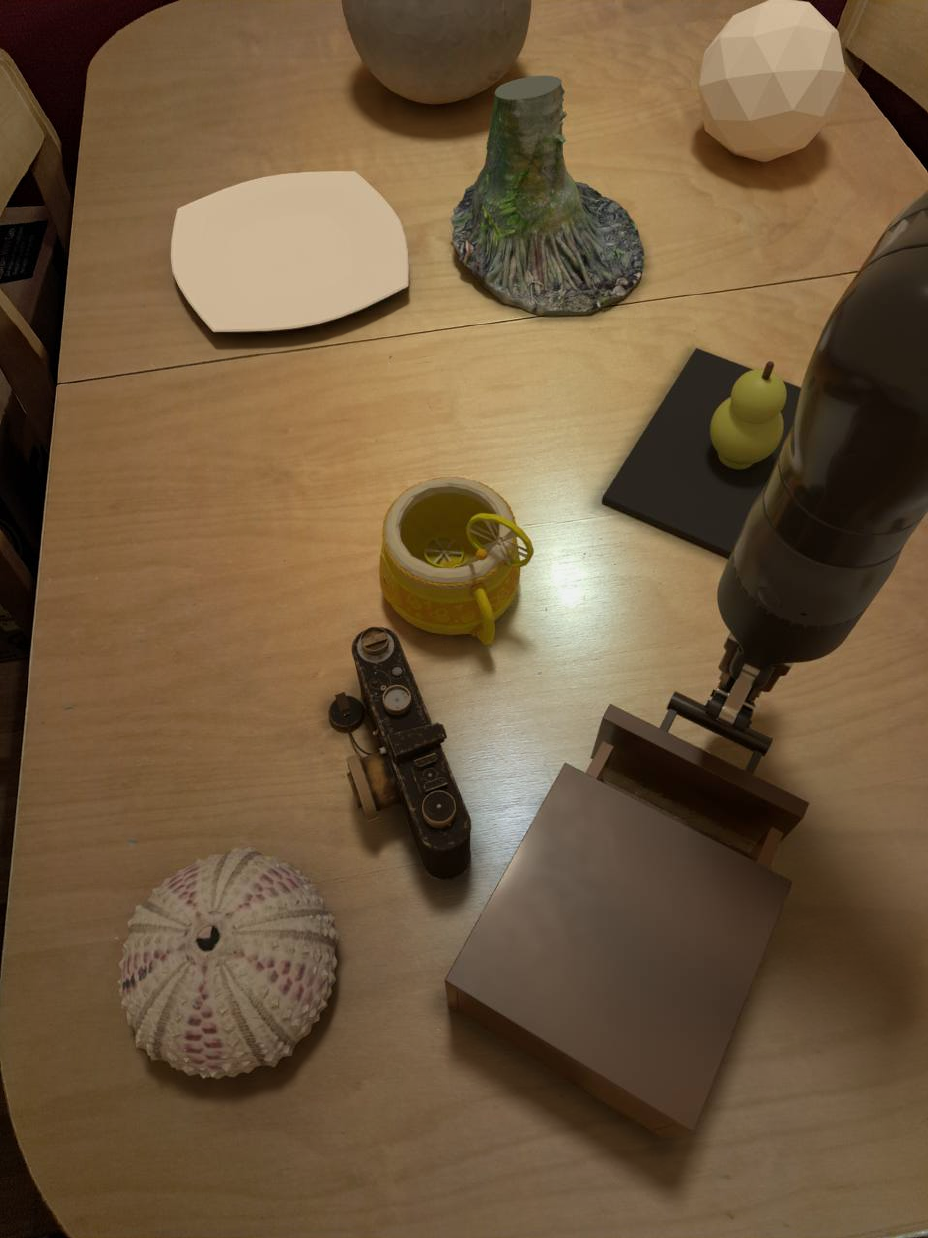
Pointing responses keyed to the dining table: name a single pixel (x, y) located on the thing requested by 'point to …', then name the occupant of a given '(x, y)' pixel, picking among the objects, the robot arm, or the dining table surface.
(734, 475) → the mat
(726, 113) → the geometric sphere
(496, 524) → the mug
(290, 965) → the sea urchin shell
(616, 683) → the dining table surface
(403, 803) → the camera
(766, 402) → the pear
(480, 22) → the bowl
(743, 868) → the cabinet
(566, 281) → the tree stump
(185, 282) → the plate
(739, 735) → the drawer
